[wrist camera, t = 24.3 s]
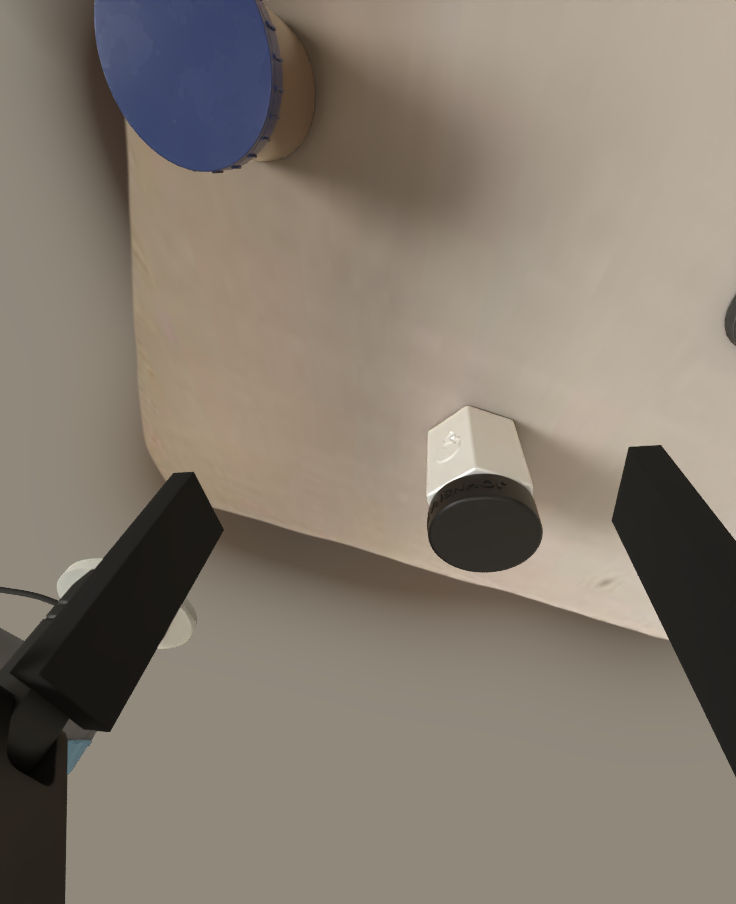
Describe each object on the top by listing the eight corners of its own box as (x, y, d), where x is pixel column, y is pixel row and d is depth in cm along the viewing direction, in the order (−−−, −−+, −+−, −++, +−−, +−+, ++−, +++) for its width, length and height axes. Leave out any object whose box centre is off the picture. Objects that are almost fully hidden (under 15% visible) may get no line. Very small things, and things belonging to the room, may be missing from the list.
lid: (166, 186, 22) (148, 188, 21) (82, -29, 18) (54, -44, 17) (304, 153, 21) (295, 153, 19) (250, -93, 16) (233, -116, 15)
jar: (486, 388, 36) (506, 473, 26) (536, 447, 39) (571, 544, 29) (408, 441, 40) (400, 531, 30) (458, 491, 43) (466, 588, 33)
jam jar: (230, 171, 29) (157, 176, 21) (186, 29, 25) (77, -27, 17) (327, 147, 27) (286, 144, 20) (297, -8, 23) (232, -87, 16)
